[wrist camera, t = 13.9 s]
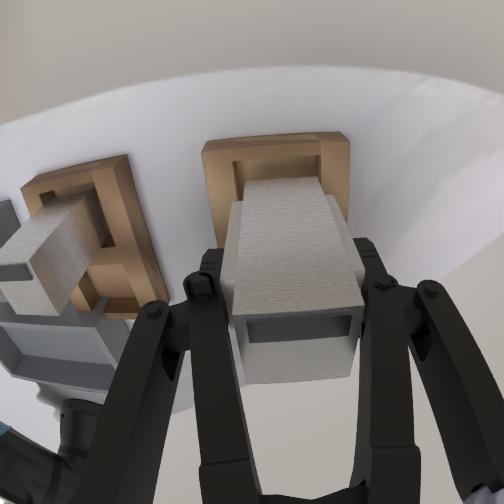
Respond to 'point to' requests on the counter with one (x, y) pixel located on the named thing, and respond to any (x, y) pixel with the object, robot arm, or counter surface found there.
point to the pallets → (220, 197)
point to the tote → (63, 346)
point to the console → (7, 229)
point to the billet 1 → (53, 251)
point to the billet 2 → (293, 286)
